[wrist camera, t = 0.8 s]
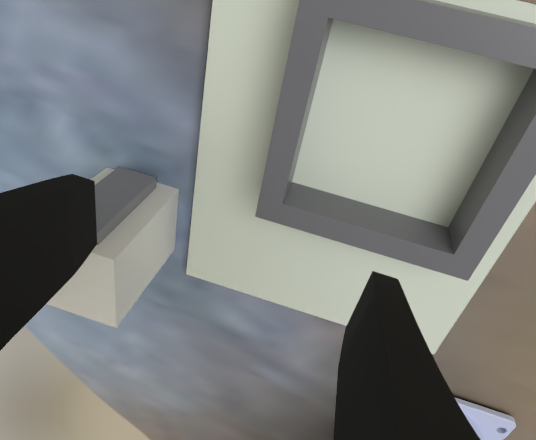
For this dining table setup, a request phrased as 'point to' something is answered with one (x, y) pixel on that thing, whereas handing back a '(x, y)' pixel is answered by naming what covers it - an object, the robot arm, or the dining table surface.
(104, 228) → the plug
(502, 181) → the socket board
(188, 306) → the dining table surface
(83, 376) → the dining table surface
